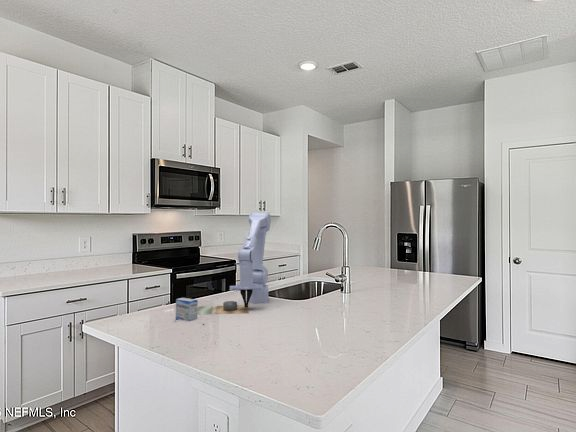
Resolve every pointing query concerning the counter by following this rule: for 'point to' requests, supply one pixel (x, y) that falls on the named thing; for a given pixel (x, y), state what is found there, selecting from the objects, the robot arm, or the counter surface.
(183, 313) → the medicine box
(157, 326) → the counter surface
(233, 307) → the puck
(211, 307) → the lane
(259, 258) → the robot arm
